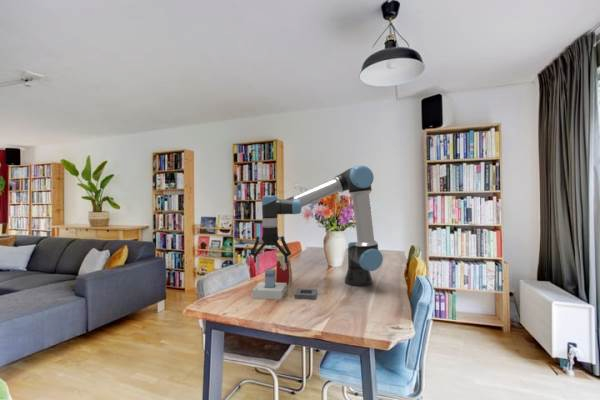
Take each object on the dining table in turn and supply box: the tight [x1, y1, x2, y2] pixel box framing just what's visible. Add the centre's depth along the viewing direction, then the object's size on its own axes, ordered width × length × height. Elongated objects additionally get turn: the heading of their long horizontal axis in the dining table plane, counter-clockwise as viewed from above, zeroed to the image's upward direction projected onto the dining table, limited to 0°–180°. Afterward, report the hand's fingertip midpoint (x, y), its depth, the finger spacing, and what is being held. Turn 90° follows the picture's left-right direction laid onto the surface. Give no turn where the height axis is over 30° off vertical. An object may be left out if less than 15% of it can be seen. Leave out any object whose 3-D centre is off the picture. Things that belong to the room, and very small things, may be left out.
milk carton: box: [274, 248, 293, 287], centre depth 164 cm, size 9×9×20 cm
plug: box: [264, 268, 276, 288], centre depth 146 cm, size 4×4×12 cm
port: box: [251, 281, 287, 301], centre depth 146 cm, size 14×14×4 cm
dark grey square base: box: [294, 287, 318, 301], centre depth 143 cm, size 10×10×2 cm
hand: (270, 269), depth 146 cm, fingers open, 13 cm apart
